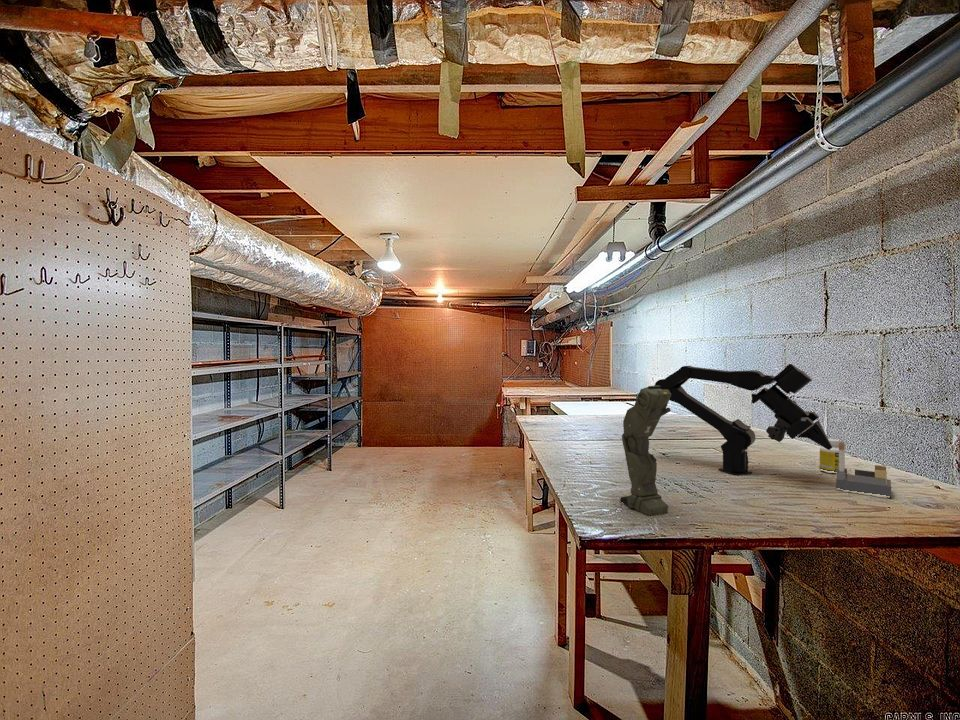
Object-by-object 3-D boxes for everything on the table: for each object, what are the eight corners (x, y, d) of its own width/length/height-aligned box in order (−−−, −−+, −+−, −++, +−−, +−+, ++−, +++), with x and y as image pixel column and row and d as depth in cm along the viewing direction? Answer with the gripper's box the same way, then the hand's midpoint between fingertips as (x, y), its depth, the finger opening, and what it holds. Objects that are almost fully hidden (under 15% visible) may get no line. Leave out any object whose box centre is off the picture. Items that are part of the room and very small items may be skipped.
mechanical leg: (606, 494, 111) (624, 379, 104) (629, 490, 114) (648, 378, 107) (643, 526, 99) (667, 398, 92) (669, 521, 101) (693, 397, 94)
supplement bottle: (837, 475, 128) (837, 442, 128) (816, 471, 133) (815, 439, 133) (846, 473, 131) (846, 440, 131) (824, 469, 136) (824, 437, 136)
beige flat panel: (838, 477, 115) (838, 444, 115) (839, 473, 119) (839, 441, 119) (844, 478, 115) (844, 445, 115) (845, 474, 118) (845, 442, 118)
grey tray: (835, 490, 114) (835, 465, 114) (838, 483, 120) (837, 460, 120) (891, 499, 107) (891, 472, 107) (890, 491, 113) (890, 466, 113)
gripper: (763, 419, 136) (808, 460, 129) (751, 427, 122) (800, 473, 115) (794, 395, 131) (843, 436, 124) (785, 400, 117) (838, 447, 110)
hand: (830, 448), depth 118 cm, fingers closed
